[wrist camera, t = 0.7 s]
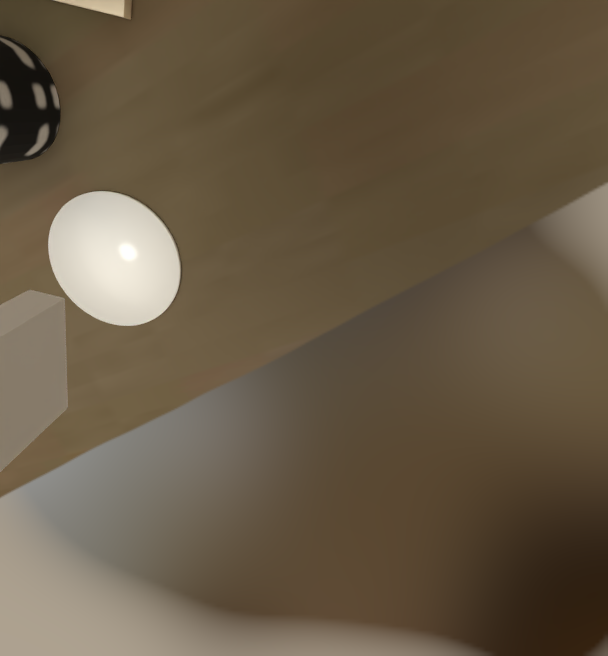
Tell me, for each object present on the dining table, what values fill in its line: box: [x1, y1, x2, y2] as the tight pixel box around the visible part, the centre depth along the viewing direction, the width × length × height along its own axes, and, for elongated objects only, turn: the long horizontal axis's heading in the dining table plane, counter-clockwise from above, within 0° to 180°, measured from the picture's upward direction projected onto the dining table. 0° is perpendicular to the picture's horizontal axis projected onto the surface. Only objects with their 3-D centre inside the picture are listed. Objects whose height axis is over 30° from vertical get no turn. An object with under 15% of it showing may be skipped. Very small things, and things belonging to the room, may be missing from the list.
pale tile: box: [48, 191, 181, 326], centre depth 40 cm, size 11×11×1 cm
